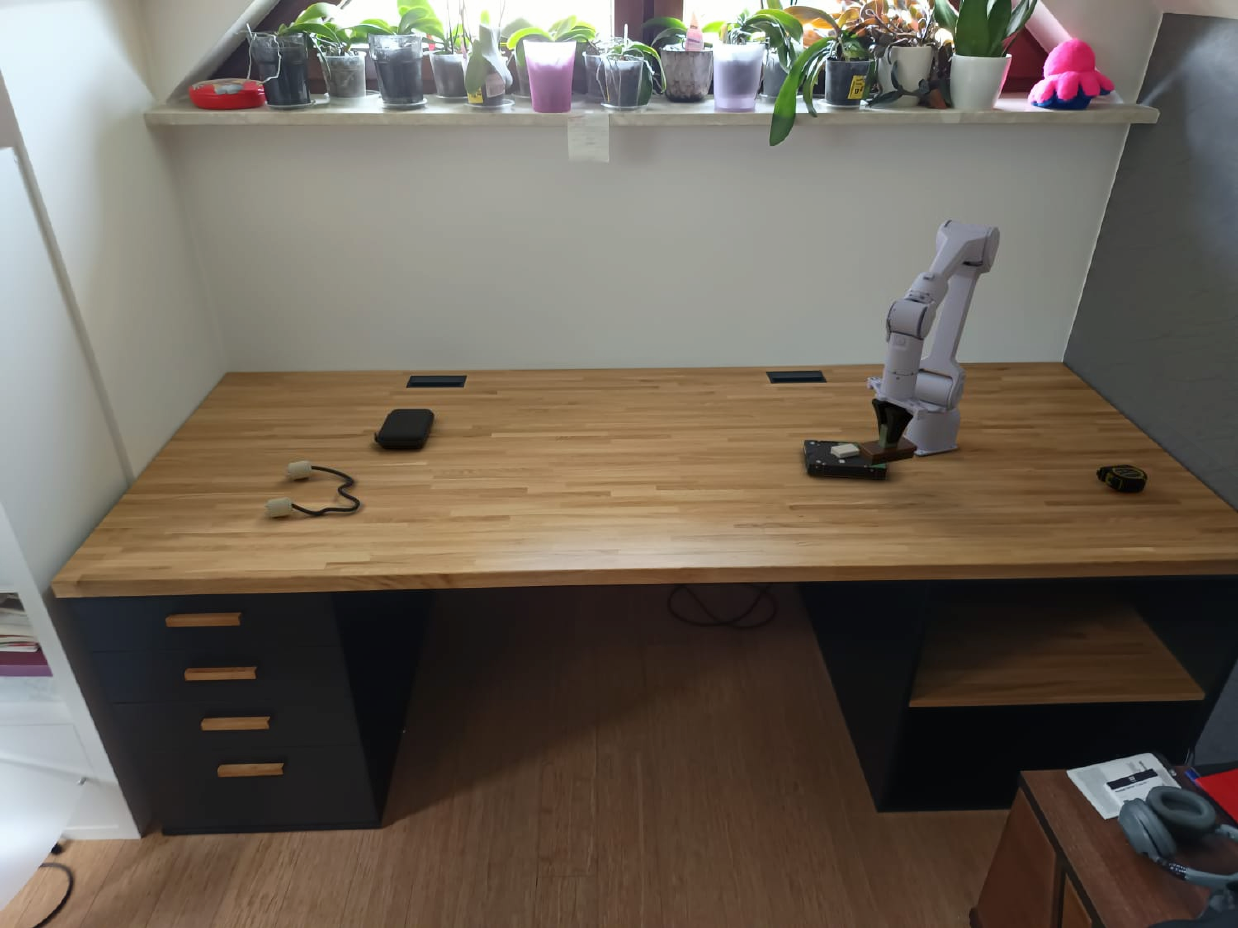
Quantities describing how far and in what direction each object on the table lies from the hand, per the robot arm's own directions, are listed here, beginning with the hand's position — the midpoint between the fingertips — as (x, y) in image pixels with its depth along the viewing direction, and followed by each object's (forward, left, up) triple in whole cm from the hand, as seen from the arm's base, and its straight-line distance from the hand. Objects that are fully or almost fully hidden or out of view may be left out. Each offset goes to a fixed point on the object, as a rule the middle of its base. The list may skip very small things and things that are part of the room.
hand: (888, 439), depth 156 cm
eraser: (+2, -9, -7) cm, 12 cm away
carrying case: (+80, -50, -10) cm, 95 cm away
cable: (+98, -31, -10) cm, 103 cm away
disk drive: (+2, -9, -10) cm, 14 cm away
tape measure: (-42, +15, -10) cm, 46 cm away
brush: (0, 0, -4) cm, 4 cm away
